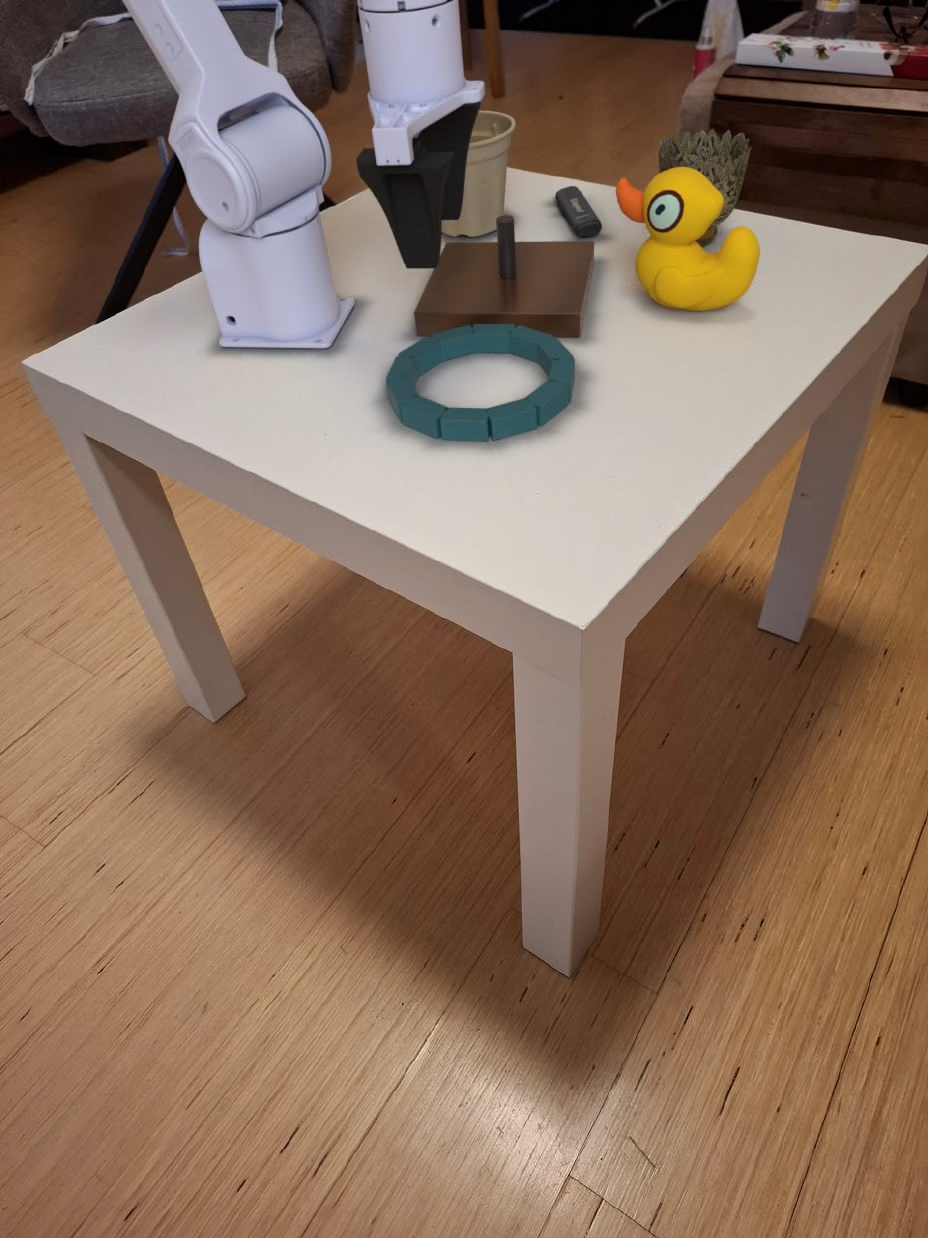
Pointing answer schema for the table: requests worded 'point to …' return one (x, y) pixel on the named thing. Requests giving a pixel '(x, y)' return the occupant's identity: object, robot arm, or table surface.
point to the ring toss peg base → (508, 285)
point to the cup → (710, 166)
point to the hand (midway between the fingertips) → (434, 241)
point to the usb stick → (578, 211)
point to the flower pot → (484, 176)
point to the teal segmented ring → (481, 420)
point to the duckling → (687, 242)
